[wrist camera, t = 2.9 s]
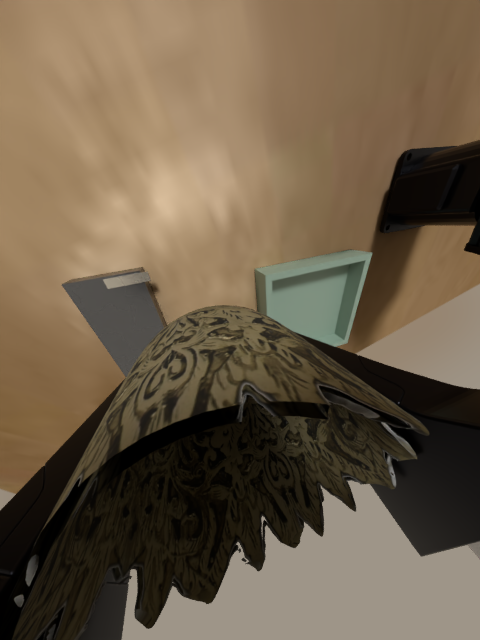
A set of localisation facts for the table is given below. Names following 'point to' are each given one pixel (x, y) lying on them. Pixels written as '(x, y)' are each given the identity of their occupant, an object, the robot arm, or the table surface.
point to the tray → (314, 294)
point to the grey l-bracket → (119, 312)
